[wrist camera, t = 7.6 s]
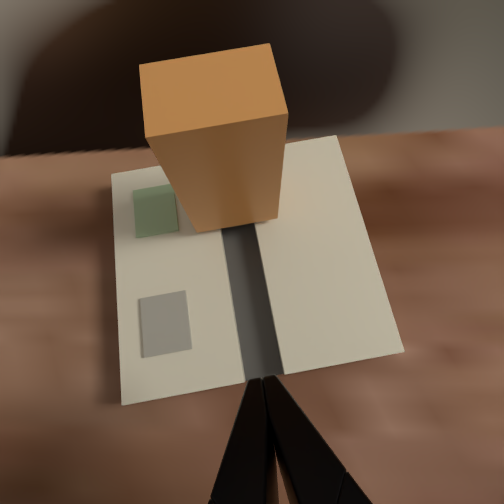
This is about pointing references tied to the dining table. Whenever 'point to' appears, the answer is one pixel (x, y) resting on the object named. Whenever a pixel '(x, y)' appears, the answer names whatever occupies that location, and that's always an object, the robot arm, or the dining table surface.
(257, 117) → the switch knob
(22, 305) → the dining table surface
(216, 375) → the switch panel
